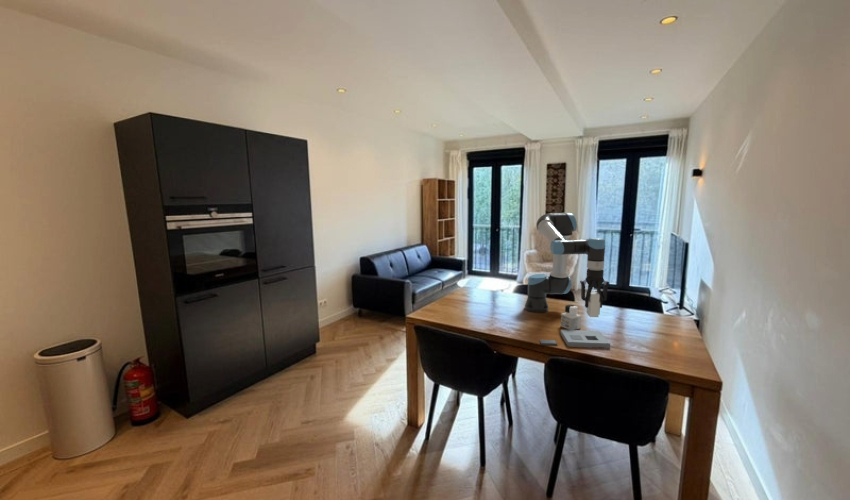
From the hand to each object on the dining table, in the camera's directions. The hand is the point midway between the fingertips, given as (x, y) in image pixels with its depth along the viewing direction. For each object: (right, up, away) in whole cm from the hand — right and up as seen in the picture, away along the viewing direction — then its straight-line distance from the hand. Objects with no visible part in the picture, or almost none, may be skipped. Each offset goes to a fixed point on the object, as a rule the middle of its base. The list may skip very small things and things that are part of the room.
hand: (593, 313), depth 175 cm
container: (-1, -12, +24) cm, 27 cm away
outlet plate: (-2, -15, +5) cm, 16 cm away
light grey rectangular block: (0, -1, 0) cm, 1 cm away
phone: (-22, -16, +3) cm, 27 cm away
